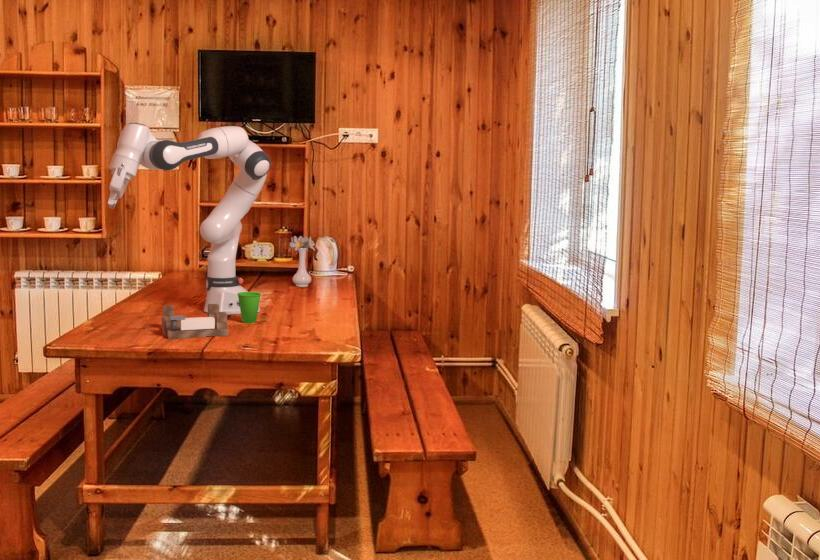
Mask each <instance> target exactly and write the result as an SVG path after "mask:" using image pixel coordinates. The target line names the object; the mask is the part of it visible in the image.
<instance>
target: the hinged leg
mask: <svg viewBox="0 0 820 560" xmlns="http://www.w3.org/2000/svg"><path fill="white" fill-rule="evenodd" d="M170 320H180V329H181V330H196V329H215V318H214V317H208V316H204V317H203V316H202V317H198V316H197V317H186V316H185V314H183V315H182V314H181V315H179V314H177V315H174V316H170Z"/></svg>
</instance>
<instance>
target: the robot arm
mask: <svg viewBox="0 0 820 560" xmlns="http://www.w3.org/2000/svg"><path fill="white" fill-rule="evenodd" d="M199 158H204V159H206V160H215V159H222V158H228V159H229V160H230V161H231V162H232V163H233V164H234V165H235V166H236V167H238V168H239V172H238V173H237V174H236V176H235V177H234V179H233V180H232V182H231V184H230V186H229V187H228V189H227V191H226V192H225V194H224V196H223V197H222V198H221V200H220V201H219V202H218V204H216V206H215V207H214V208H213V209H212V211H210V213H209V214H208V216H207V217H206V218H205V219H204V220H203V221H202V222H201V223H200V227H199V233H200V237H201V238H202V239H203V240H204V241H206V242H208V243H211V244H210V249H209V252H208V255H207V264H206V265H207V275H206V279H205V289H206V299H205V303H204V307H203V312H204V313H207V314H208V304H218V305H219V312H226V313H227V316H228V315H229V316H230V315H241V311H240V304H239V298H238V295H237V294H238V293H240V292H249V291H248V290H247V289H246V288H245V287H243V286H241V284H243V283H244V279H243V278H242V277H239V276H237V275H236V266H237V265H236V261H237V260H236V259H237V251H238V246H239V239H240V235H241V233H242V229H243V224H242V222H241V220H242V219H243V218H244V216H245V215H246V214H248V213H249V211H250V209H251V208H252V206H253V205H254V203H255V201H256V200H257V198H258V196H259V195H260V192H261V191H262V189H263V187H264V184H265V182H266V180H267V176H268V173H269V171H270V169H271V167H272V166H271V165H272V161H271V158H270V156H269V155H268V154H267V153H266V152H265V151H264V150H263V149H262V148H261V147H260V146H259V145H258V144H256V143H255V142H253V141H252V140H250V139H249V136H248V133H247V131H246V130H245V128H243V127H241V126H236V125H226V126H219V127H212V128H209V129H206V130H204V131H202V132H199V134H198V136H197V138H196V139H192V140H187V141H181V142H177V141H174V140H171V139H170V140H169V139H164V140H158V139H157V138H156V137H155V135H154V134H153V133H152V131H151V130H150V127H149V126H148V125H145V124H144V123H143V124H142V123H138V122H128V123H127V124H125V125H124V127H123V128H122V130H121V132H120V135H119V138H118V140H117V145H116V149H115V151H114V153H113V155H112V157H111V161H110V163H109V166H108V169H109V170H111V173H110V174H111V176H112V177H111V179H110V182H109V184H108V185H109V186H108V188H109V191H110V192H109V197H108V201H107V204H108V207H109V209H112V210H113V209H115V207H116V204H117V202H118V200H119V199H122V197H123V195H124V194H125V191H126V190H127V188H128V187H127V186H128V185H129V182H130V181H131V180H132V179H133V178H135V177H136V176H137V173H138V170H139V167H140V166H142V167H144V168H145V169H148V170H151V171H152V170H153V171H157V170H161V171H162V170H163V171H172V170H175V169H176V168H177V167H179V166H180V165H181V164H183V163H184V162H187V161H191V160H195V159H199ZM259 312H261V307H260V306H259V307H258V313H259Z"/></svg>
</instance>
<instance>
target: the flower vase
mask: <svg viewBox="0 0 820 560" xmlns="http://www.w3.org/2000/svg"><path fill="white" fill-rule="evenodd" d="M288 245H289V249H288V252H290V251H291V250H292V249H294V251H298V254H299V255H298V256H299V258H298V269H297V271H296V273H295V274H294V275H293V277H292V283H294V284H295V287H299V288H305V287H306V288H307V287H309V284H310V283H312V277H311V275H310V273H308V270H307V266H306V254H307V253H309V248H310V249H312V250H313V251H314V252H315V251H316V249H315V247H314V246H315V245H316V244H315V242H314V240H312V237H311V236H309V238H308V237H307V236H306V235H305V236H304V237H303V236H302V235H300V236H299V237H297V236H296V235H294V236H293V237H291V241H290V242H289V244H288Z"/></svg>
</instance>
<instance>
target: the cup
mask: <svg viewBox="0 0 820 560" xmlns="http://www.w3.org/2000/svg"><path fill="white" fill-rule="evenodd" d="M237 295H238V298H239V304H240V311H241V314H240V316H241V322H242V323H243V322H245V323H244V324H254V323H253V322H255V323H256V322H257V319H258V314H259V312H258V307H260V301H261V296H262V293H261V292H258V291H248V292H240V293H238V294H237Z"/></svg>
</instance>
